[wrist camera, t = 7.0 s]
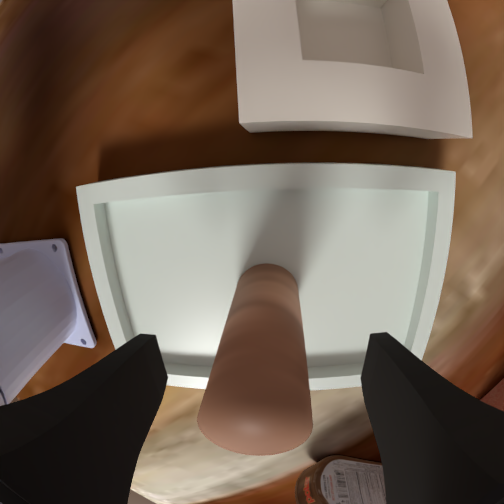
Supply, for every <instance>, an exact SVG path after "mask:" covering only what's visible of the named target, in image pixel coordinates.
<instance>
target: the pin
mask: <svg viewBox="0 0 504 504" xmlns="http://www.w3.org/2000/svg"><path fill="white" fill-rule="evenodd" d="M197 422H198V426H199V428H200V430H201V432H202V433H203V434H204V435H205V437H206V438H208V439H209V440H210V441H211V442H213V443H214V444H216V445H218V446H220V447H222V448H224V449H227V450H229V451H233V452H236V453H241V454H246V455H274V454H279V453H283V452H287V451H289V450H292V449H294V448H296V447H298V446H300V445H301V444H303V443H304V442H305V441H306V440H307V439H308V438H309V436H310V434H311V433H312V429H313V421H312V409H311V398H310V387H309V377H308V367H307V358H306V349H305V340H304V332H303V323H302V315H301V307H300V300H299V292H298V286H297V282H296V280H295V278H294V277H293V275H292V274H291V273H290V272H289V271H288V270H286V269H285V268H283V267H281V266H279V265H275V264H269V263H265V264H258V265H255V266H253V267H251V268H249V269H248V270H246V271H245V272H244V273H243V274H242V275H241V277H240V279H239V281H238V284H237V287H236V290H235V293H234V297H233V300H232V303H231V307H230V310H229V313H228V317H227V320H226V323H225V326H224V330H223V333H222V336H221V340H220V343H219V346H218V350H217V353H216V356H215V360H214V363H213V366H212V370H211V373H210V376H209V380H208V383H207V386H206V390H205V393H204V396H203V400H202V403H201V406H200V410H199V413H198V417H197Z"/></svg>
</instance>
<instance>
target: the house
mask: <svg viewBox="0 0 504 504" xmlns="http://www.w3.org/2000/svg"><path fill="white" fill-rule="evenodd" d="M480 401H482V402H484V403H486V404H488V405H491V406H493V407H495V408H497V409H499V410H502V411H504V378H503V379H502V380H501V381H500V382H499V383H498V384H497V385H496V386H495V387H494V388H493V389H492V390H491V391H490V392H489V393H488V394H486V395H485V396H484V397H483V398H482V399H481V400H480Z"/></svg>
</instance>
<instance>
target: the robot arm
mask: <svg viewBox="0 0 504 504" xmlns="http://www.w3.org/2000/svg"><path fill="white" fill-rule="evenodd" d="M55 245H56V246H55ZM56 247H57V248H56ZM63 343H68V344H73V345H78V346H83V347H89V348H94V347H95V345H96V343H97V342H96V339H95V336H94V334H93V331H92V328H91V325H90V322H89V319H88V316H87V313H86V310H85V307H84V304H83V301H82V298H81V294H80V291H79V288H78V284H77V280H76V277H75V273H74V269H73V265H72V261H71V257H70V253H69V248H68V244H67V242H66V241H65V240H64V239H62V238H58V239H46V240H34V241H23V242H12V243H2V244H0V504H127V503H128V497H129V492H130V487H131V483H132V478H133V474H134V471H135V467H136V463H137V460H138V456H139V454H140V451H141V448H142V446H143V443H144V441H145V439H146V436H147V434H148V432H149V430H150V427H151V425H152V423H153V420H154V418H155V416H156V413H157V411H158V409H159V406H160V404H161V402H162V399H163V395H164V392H165V388H166V384H167V380H168V375H167V372H166V369H165V365H164V362H163V359H162V355H161V352H160V348H159V345H158V341H157V338H156V335H153V334H139V335H137V336H135V337H134V338H132V339H131V340H129V341H128V342H126V343H125V344H123V345H122V346H120V347H119V348H117V349H116V350H115V351H113V352H112V353H110V354H109V355H107V356H106V357H104V358H103V359H101V360H100V361H99V362H97V363H96V364H94V365H92V366H91V367H89V368H88V369H86V370H84V371H83V372H81V373H79V374H78V375H76V376H75V377H73V378H71V379H69V380H68V381H66V382H64V383H62V384H60V385H58V386H56V387H54V388H52V389H50V390H47V391H45V392H42V393H40V394H37V395H35V396H32V397H29V398H27V399H24V400H21V401H17V402H14V403H10V402H11V401H12V400H13V399H14V397H15V396H16V395H17V394H18V393H19V392H20V390H21V389H22V388H23V387H24V386H25V385H26V383H27V382H28V381H29V380H30V379H31V378H32V377H33V375H34V374H35V373H36V372H37V371H38V370H39V369H40V368H41V366H42V365H43V364H44V363H45V362H46V361H47V360H48V359H49V358H50V357H51V355H52V354H53V353H54V352H55V351H56V350H57V349H58V348H59V347H60V346H61V345H62V344H63ZM360 379H361V384H362V391H363V396H364V402H365V405H366V409H367V412H368V415H369V419H370V422H371V425H372V428H373V432H374V435H375V438H376V442H377V445H378V449H379V452H380V457H381V461H382V467H383V474H384V483H385V494H386V504H504V411H502V410H499V409H497V408H495V407H493V406H491V405H488V404H486V403H484V402H482V401H480V400H478V399H477V398H475V397H473V396H471V395H470V394H468V393H466V392H465V391H463V390H461V389H460V388H458V387H456V386H455V385H453V384H452V383H451V382H449V381H448V380H446V379H445V378H444V377H442V376H441V375H439V374H438V373H437V372H435V371H434V370H433V369H431V368H430V367H429V366H428V365H426V364H425V363H424V362H423V361H421V360H420V359H419V358H418V357H417V356H415V355H414V354H413V353H412V352H411V351H409V350H408V349H407V348H406V347H405V346H403V345H402V344H401V343H400V342H399V341H397V340H396V339H395V338H394V337H393V336H391V335H390V334H389V333H387V332H382V333H371V334H370V336H369V341H368V346H367V351H366V356H365V360H364V365H363V369H362V373H361V378H360ZM9 403H10V404H9Z"/></svg>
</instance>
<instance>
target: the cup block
mask: <svg viewBox="0 0 504 504" xmlns="http://www.w3.org/2000/svg"><path fill="white" fill-rule="evenodd" d="M233 18H234V38H235V56H236V75H237V93H238V110H239V124H241V125H242V126H243V127H244V128H245V129H246V130H247V131H249V132H250V133H253V132H275V131H340V132H361V133H376V134H388V135H398V136H407V137H416V138H424V139H444V138H473V137H472V120H471V108H470V99H469V91H468V84H467V78H466V72H465V66H464V61H463V56H462V51H461V47H460V43H459V39H458V35H457V31H456V27H455V24H454V20H453V17H452V14H451V11H450V8H449V5H448V2H447V0H233Z"/></svg>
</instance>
